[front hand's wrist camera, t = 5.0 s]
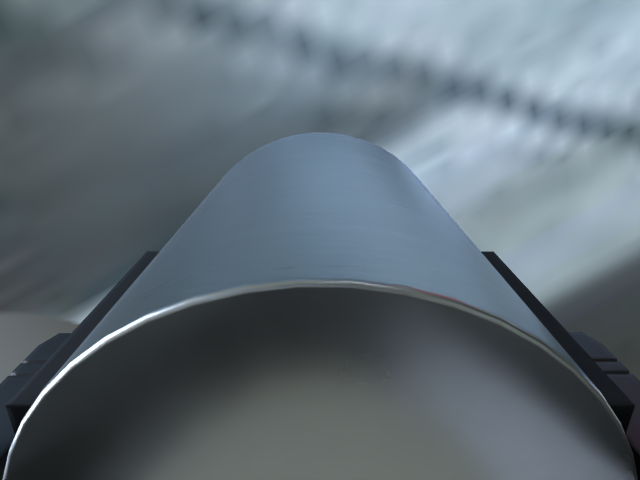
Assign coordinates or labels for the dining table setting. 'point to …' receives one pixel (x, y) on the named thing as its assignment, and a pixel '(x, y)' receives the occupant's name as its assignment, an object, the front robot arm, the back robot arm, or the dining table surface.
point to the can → (320, 347)
